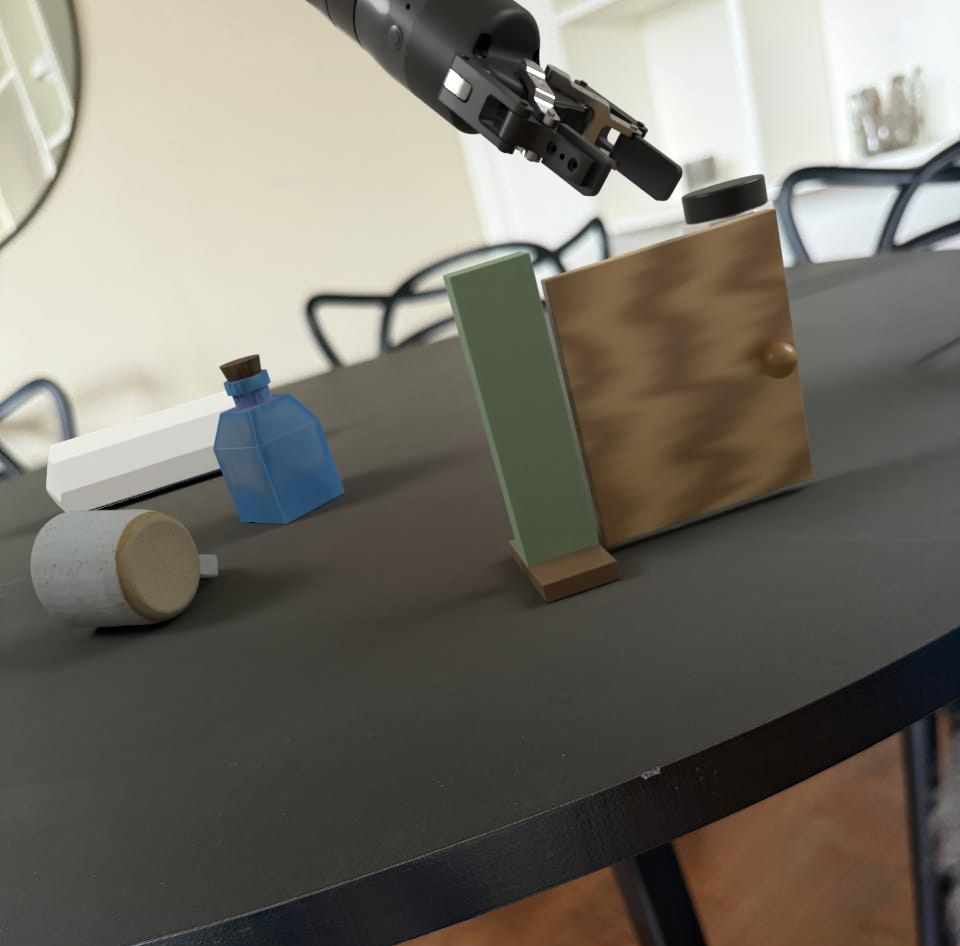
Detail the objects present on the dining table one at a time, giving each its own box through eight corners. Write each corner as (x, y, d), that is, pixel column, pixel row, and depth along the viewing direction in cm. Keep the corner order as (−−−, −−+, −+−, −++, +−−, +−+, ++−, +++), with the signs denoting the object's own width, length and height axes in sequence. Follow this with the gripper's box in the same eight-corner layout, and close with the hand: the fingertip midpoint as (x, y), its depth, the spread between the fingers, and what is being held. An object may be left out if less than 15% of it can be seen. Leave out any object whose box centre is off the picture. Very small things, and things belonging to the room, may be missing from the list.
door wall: (577, 535, 59) (507, 249, 53) (621, 578, 52) (545, 253, 45) (512, 557, 59) (433, 272, 52) (546, 603, 52) (459, 280, 45)
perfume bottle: (344, 492, 82) (294, 344, 77) (286, 524, 79) (229, 370, 74) (299, 492, 87) (248, 351, 82) (241, 522, 83) (184, 376, 78)
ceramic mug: (151, 643, 62) (100, 526, 59) (59, 648, 66) (7, 538, 63) (252, 571, 70) (212, 465, 67) (166, 579, 74) (124, 479, 71)
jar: (779, 290, 109) (761, 170, 104) (792, 302, 101) (774, 173, 97) (694, 312, 111) (673, 196, 106) (702, 325, 103) (679, 200, 98)
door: (805, 473, 57) (767, 208, 51) (831, 485, 54) (793, 207, 48) (602, 541, 56) (539, 279, 50) (618, 556, 53) (554, 282, 48)
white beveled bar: (31, 496, 97) (274, 419, 99) (28, 447, 101) (261, 374, 103) (67, 546, 103) (295, 473, 105) (63, 498, 107) (283, 429, 109)
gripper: (394, -55, 55) (612, 107, 51) (538, -7, 66) (728, 130, 61) (345, 85, 59) (541, 244, 55) (487, 108, 70) (661, 243, 66)
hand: (639, 184), depth 58 cm, fingers open, 8 cm apart
